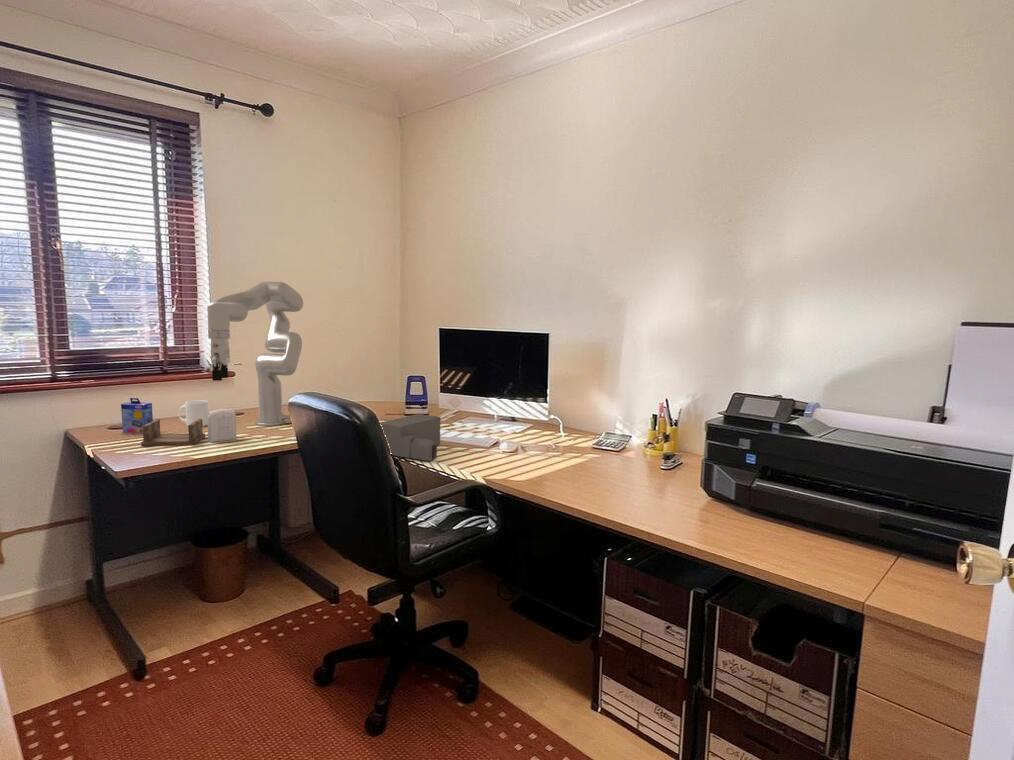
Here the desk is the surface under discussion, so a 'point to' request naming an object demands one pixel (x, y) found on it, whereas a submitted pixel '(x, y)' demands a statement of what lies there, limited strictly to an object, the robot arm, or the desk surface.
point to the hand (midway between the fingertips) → (220, 379)
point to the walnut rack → (171, 435)
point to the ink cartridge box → (135, 416)
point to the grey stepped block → (413, 436)
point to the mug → (195, 411)
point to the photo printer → (221, 425)
